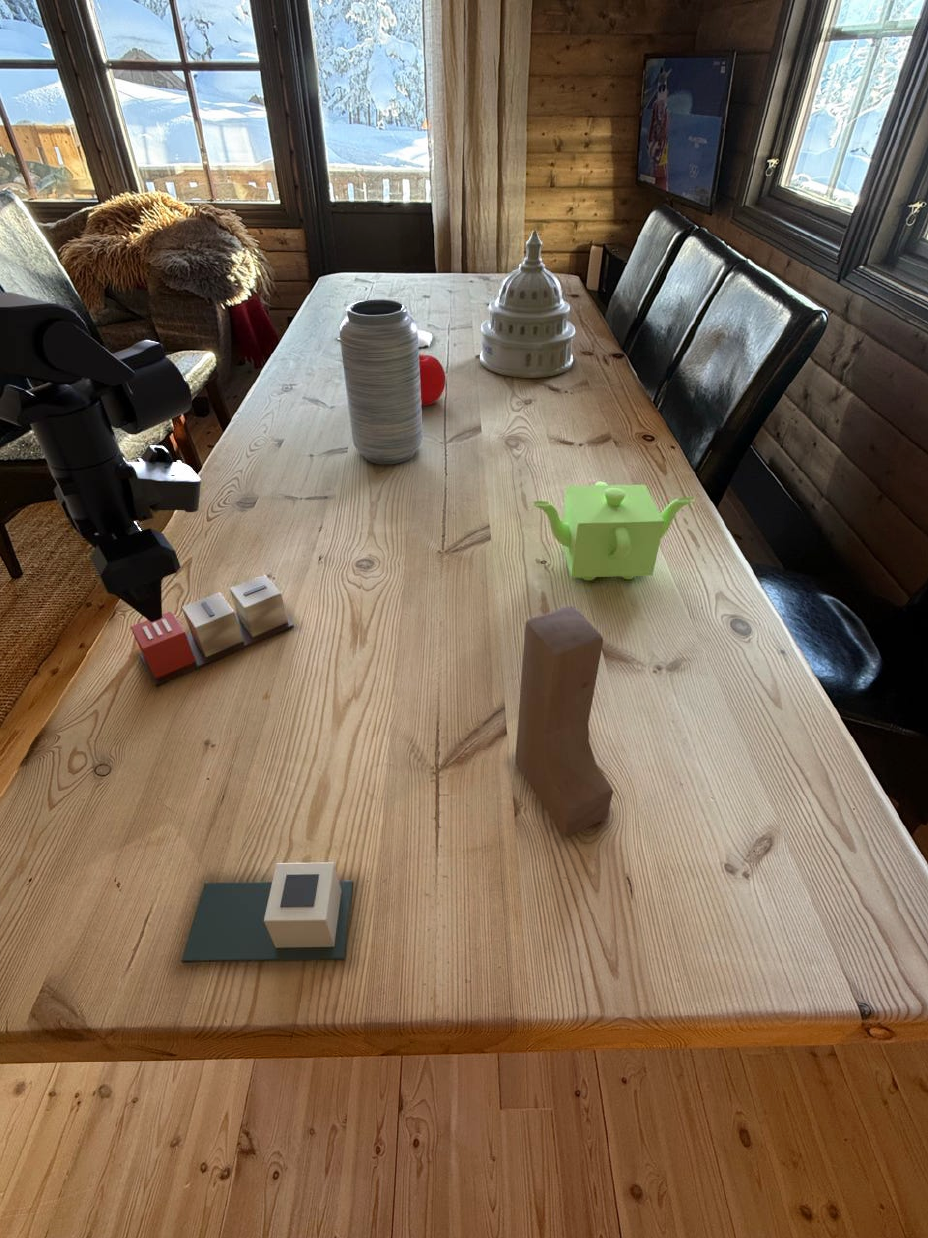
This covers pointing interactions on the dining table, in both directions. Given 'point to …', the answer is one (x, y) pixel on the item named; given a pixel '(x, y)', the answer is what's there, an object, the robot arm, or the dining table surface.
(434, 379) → the fruit
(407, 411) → the vase
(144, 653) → the white-striped red block
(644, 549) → the teapot
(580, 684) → the wooden block
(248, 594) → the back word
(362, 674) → the dining table surface
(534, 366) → the dome
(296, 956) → the white cube on base
